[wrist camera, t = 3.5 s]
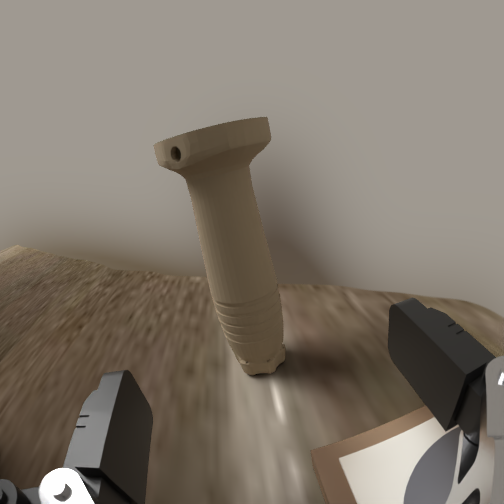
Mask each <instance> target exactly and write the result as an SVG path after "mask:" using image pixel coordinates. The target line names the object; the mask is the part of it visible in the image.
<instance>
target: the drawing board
mask: <svg viewBox="0 0 504 504" xmlns="http://www.w3.org/2000/svg"><path fill="white" fill-rule="evenodd" d="M461 430H462V429H461V428H460V427H459V425H456V426H455V427H453V428H451V429H450V430H448V431H446V432H445V430H444V429H443V428H442V426H441V425H440V423H439V422H438V421H437V419H436V418H435V417H434V415H433V414H432V413H431V411H430V410H429V409H428V407H427V406H426V405H425V406H423V407H421V408H419V409H417V410H415V411H413V412H411V413H409V414H406V415H404V416H402V417H400V418H398V419H395V420H393V421H391V422H388V423H386V424H384V425H381V426H379V427H376V428H374V429H371V430H369V431H366V432H364V433H361V434H358V435H356V436H353V437H350V438H347V439H345V440H342V441H339V442H336V443H333V444H330V445H327V446H323V447H320V448H317V449H314V450H311V457H312V464H313V468H314V471H315V474H316V477H317V479H318V482H319V485H320V488H321V491H322V494H323V497H324V500H325V503H326V504H446V502H447V499H448V497H449V495H450V492H451V489H452V485H453V480H454V474H455V468H456V461H457V454H458V445H459V436H460V433H461Z"/></svg>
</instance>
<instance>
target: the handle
mask: <svg viewBox="0 0 504 504" xmlns="http://www.w3.org/2000/svg"><path fill="white" fill-rule="evenodd" d="M270 140H271V133H270V128H269V123H268V118H267V117H259V118H250V119H244V120H238V121H232V122H227V123H222V124H218V125H214V126H210V127H206V128H202V129H198V130H195V131H191V132H187V133H184V134H181V135H178V136H175V137H172V138H169V139H166V140H163V141H160V142H158V143H156V144H155V145H154V149H155V154H156V158H157V161H158V164H159V165H160V166H162V167H164V168H167V169H169V170H172V171H174V172H177V173H178V174H180V175H182V176H183V177H184V178H185V179H186V182H187V185H188V189H189V192H190V196H191V200H192V205H193V210H194V215H195V220H196V225H197V229H198V234H199V239H200V244H201V249H202V254H203V258H204V263H205V268H206V272H207V277H208V282H209V287H210V291H211V296H212V299H213V302H214V306H215V309H216V312H217V315H218V318H219V321H220V324H221V326H222V329H223V331H224V334H225V336H226V338H227V341H228V343H229V344H230V346H231V348H232V350H233V352H234V354H235V356H236V358H237V360H238V362H239V363H240V364H241V366H242V369H243V370H244V372H245V373H247V374H250V375H255V374H259V373H269V374H270V373H273V372H274V371H276V367H277V366H278V365H279V364H280V363H282V362H284V360H285V345H284V344H282V342H283V315H282V306H281V299H280V294H279V288H278V284H277V279H276V275H275V271H274V268H273V264H272V260H271V256H270V252H269V249H268V245H267V241H266V238H265V234H264V230H263V226H262V222H261V218H260V214H259V210H258V207H257V203H256V199H255V195H254V191H253V187H252V182H251V175H250V168H249V165H250V163H251V161H252V159H253V158H254V157H255V156H256V155H257V154H258V153H259V152H261V151H262V150H263V149H264V148H265V147H266V146H267V144H268V143H269V142H270Z"/></svg>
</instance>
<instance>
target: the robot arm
mask: <svg viewBox="0 0 504 504" xmlns="http://www.w3.org/2000/svg"><path fill="white" fill-rule="evenodd" d="M388 350H389V354H390V357H391V359H392V361H393V363H394V364H395V365H396V366H397V368H398V369H399V370H400V372H401V373H402V374H403V376H404V377H405V378H406V379H407V381H408V382H409V383H410V385H411V386H412V387H413V389H414V390H415V391H416V393H417V394H418V395H419V397H420V398H421V399H422V401H423V402H424V403H425V405H426V406H427V407H428V409H429V410H430V411H431V413H432V414H433V415H434V417H435V418H436V419H437V421H438V422H439V423H440V425H441V426H442V428H443V429H444V430H445V432H446V431H448V430H450V429H451V428H453V427H455V426H456V425H459V427H460V428H461V429H462V430H461V433H460V436H459V445H458V454H457V461H456V468H455V474H454V480H453V485H452V489H451V492H450V495H449V497H448V499H447V502H446V504H504V356H500V357H497V358H496V357H495V356H494V355H493V354H491V353H490V352H489V351H488V350H487V349H486V348H485V347H484V346H483V345H481V344H480V343H479V342H478V341H477V340H476V339H475V338H473V337H472V336H471V335H470V334H469V333H468V332H467V331H464V329H463V328H462V327H461V326H460V325H458V324H456V322H455V321H454V320H452V319H451V318H450V317H449V316H448V315H447V314H445V313H443V312H441V311H438V310H436V309H433V308H428V309H427V308H426V307H425V306H424V305H423V304H421V303H420V302H419V301H418V300H417V299H415V298H410V299H407V300H405V301H402V302H399V303H396V304H394V305H392V306H391V307H390V310H389V333H388ZM152 425H153V416H152V411H151V408H150V405H149V403H148V402H147V400H146V398H145V396H144V395H143V393H142V391H141V390H140V388H139V386H138V384H137V382H136V381H135V379H134V377H133V375H132V374H131V372H130V371H128V370H123V371H116V372H109V373H105V374H104V375H103V376H102V379H101V382H100V385H99V388H98V390H94V391H93V392H92V393H91V394H90V396H89V397H88V398H87V399H86V401H85V402H84V404H83V407H82V410H81V413H80V418H78V421H77V424H76V427H77V428H76V429H75V430H74V433H73V436H72V439H71V442H70V446H69V449H68V452H67V455H66V459H65V462H64V465H63V468H61V469H56V470H54V471H52V472H50V473H49V474H48V475H46V476H45V478H44V479H43V480H42V482H41V484H40V487H35V488H30V489H24V490H20V489H19V488H17V487H16V486H15V485H14V484H13V483H12V482H10V481H9V480H6V479H0V504H145V497H146V484H147V472H148V461H149V451H150V442H151V433H152Z"/></svg>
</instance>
